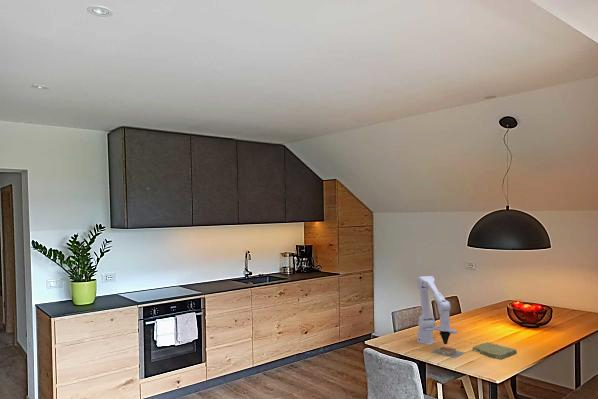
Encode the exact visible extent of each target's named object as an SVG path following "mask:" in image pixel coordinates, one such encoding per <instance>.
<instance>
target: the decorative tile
mask: <svg viewBox="0 0 598 399" xmlns="http://www.w3.org/2000/svg"><path fill="white" fill-rule="evenodd" d="M471 352H475V353H479V355H483V356H485V357H489V358H492V359H496V360H500V361H502V360H505V359H507V358H510V357H511V356H515V355H517V353H518V350H517V349H516V348H511V347H507V346H503V345H500V344H495V343H491V342H488V341H487V342H481V343H480V344H476V345H474V346H473V347H472V349H471Z"/></svg>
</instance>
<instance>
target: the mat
mask: <svg viewBox="0 0 598 399" xmlns="http://www.w3.org/2000/svg"><path fill="white" fill-rule="evenodd" d="M441 347H442V346H441ZM441 347H439V348H441ZM439 348H436V349H435V350H433V351H431V352H430V353H432V354H435V355H440V356H445V357H449V358H454V359H456V358H457V357H460V356H462V355H463V354H465V352H463V351H459V350H456V353H455V354H453V355H451V356H449V355H445V354H441V353H438V349H439Z"/></svg>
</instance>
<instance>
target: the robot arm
mask: <svg viewBox="0 0 598 399" xmlns="http://www.w3.org/2000/svg"><path fill="white" fill-rule="evenodd" d="M416 279H417V280H416V281H417V288H418V289H419V293H420V294H419V297H420V303H421V304H420V306H421V315H420V316H419V317H418V322H417V323H418V327H419V328H418V330H417V341H416V342H417V343H420V344H425V345H433V344H434V343H436V340H435V341H434V333H433V332H434V331H439V335H440V338H441V339H442V343H443V345H447V344H448V342H449V338H450V336H451V334H454V335H458V330H456V329H453V328H451V322H450V311H451V310H452V305H451V302H450V301H448V300H446V298H445V297H444V295H443V294H442V292H439V290H438V287H437V286H436V279H435V278H434V275H426V276H425V275H424V276H418V278H416ZM429 290H430V292H431V293H432V295H433V299H434V301H435V302H436V304H437V310H438V314H439V326H436V325H437V324H436V321H435V316H434V315H432V314H431V308H430V300H429Z"/></svg>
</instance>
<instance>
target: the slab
mask: <svg viewBox="0 0 598 399" xmlns="http://www.w3.org/2000/svg"><path fill="white" fill-rule="evenodd" d="M437 349H438V348H437ZM456 351H457V349H456V348H453V347H449V346H444V345H443V346H441V348H440V347H439V349H438V353H441V354H445V355H449V356H451V355H453V354H455V353H456Z"/></svg>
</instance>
